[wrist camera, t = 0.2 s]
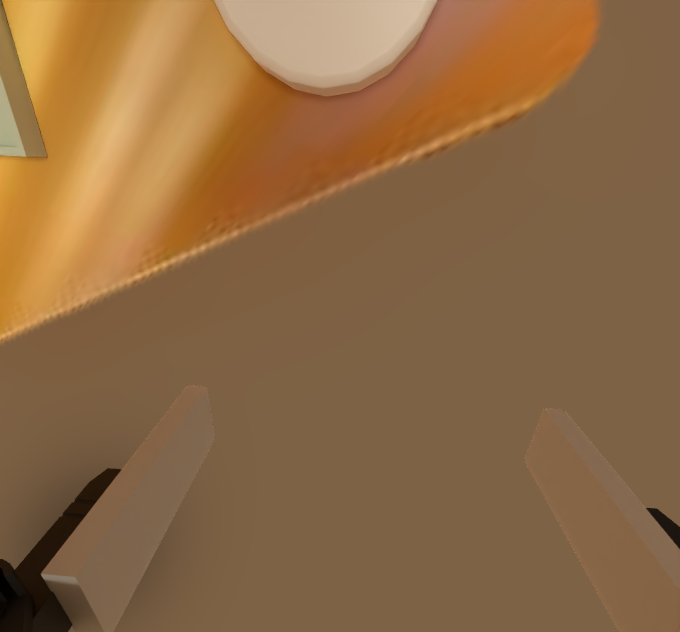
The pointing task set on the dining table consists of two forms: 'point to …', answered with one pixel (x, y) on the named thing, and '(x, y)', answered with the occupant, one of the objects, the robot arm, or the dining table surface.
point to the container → (327, 39)
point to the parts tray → (15, 103)
